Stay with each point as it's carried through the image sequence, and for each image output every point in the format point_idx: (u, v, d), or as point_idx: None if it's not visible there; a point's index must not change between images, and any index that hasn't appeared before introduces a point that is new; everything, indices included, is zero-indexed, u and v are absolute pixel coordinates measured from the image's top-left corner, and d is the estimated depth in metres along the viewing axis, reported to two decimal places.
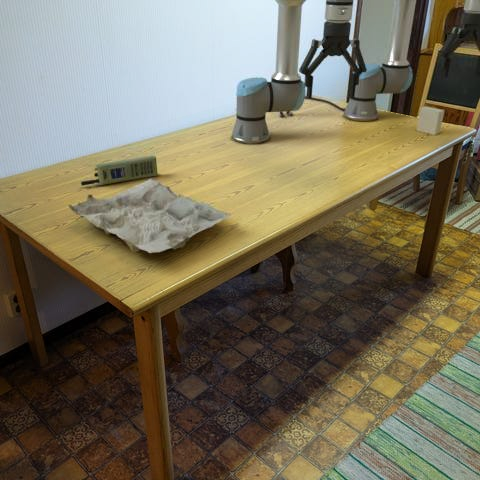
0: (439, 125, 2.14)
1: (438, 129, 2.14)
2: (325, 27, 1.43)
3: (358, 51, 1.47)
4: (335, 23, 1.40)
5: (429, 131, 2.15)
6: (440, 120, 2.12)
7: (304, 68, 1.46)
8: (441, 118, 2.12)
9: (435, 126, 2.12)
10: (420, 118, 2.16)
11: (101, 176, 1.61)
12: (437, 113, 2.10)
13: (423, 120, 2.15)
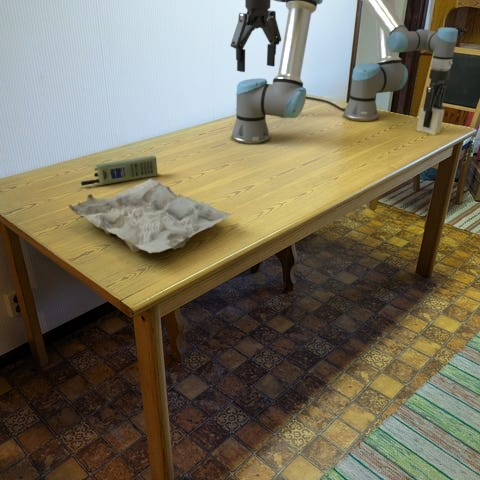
0: (439, 125, 2.14)
1: (438, 129, 2.14)
2: (250, 0, 1.48)
3: (275, 22, 1.58)
4: None
5: (429, 131, 2.15)
6: (440, 120, 2.12)
7: (238, 42, 1.50)
8: (441, 118, 2.12)
9: (435, 126, 2.12)
10: (420, 118, 2.16)
11: (101, 176, 1.61)
12: (437, 113, 2.10)
13: (423, 120, 2.15)
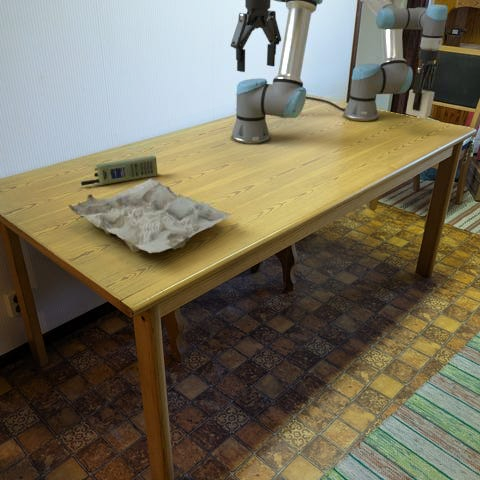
0: (429, 108, 2.05)
1: (428, 112, 2.06)
2: (250, 0, 1.48)
3: (275, 22, 1.58)
4: None
5: (419, 114, 2.06)
6: (430, 102, 2.04)
7: (238, 42, 1.50)
8: (431, 100, 2.04)
9: (425, 109, 2.04)
10: (409, 101, 2.07)
11: (101, 176, 1.61)
12: (427, 95, 2.01)
13: (412, 102, 2.06)
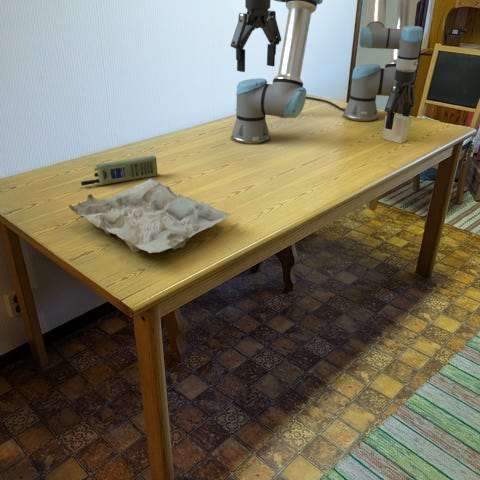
0: (405, 133, 2.03)
1: (404, 137, 2.04)
2: (250, 0, 1.48)
3: (275, 22, 1.58)
4: None
5: (395, 139, 2.04)
6: (406, 128, 2.02)
7: (238, 42, 1.50)
8: (407, 126, 2.02)
9: (401, 134, 2.02)
10: None
11: (101, 176, 1.61)
12: (402, 121, 1.99)
13: None
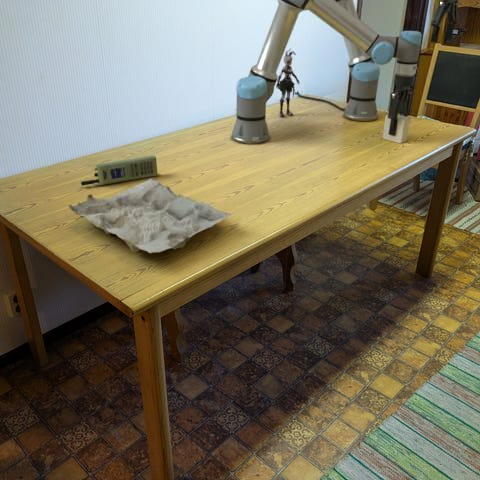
0: (405, 133, 2.03)
1: (404, 137, 2.04)
2: (400, 80, 1.93)
3: (410, 97, 2.02)
4: (409, 77, 1.92)
5: (395, 139, 2.04)
6: (406, 128, 2.02)
7: (394, 115, 1.98)
8: (407, 126, 2.02)
9: (401, 134, 2.02)
10: (385, 126, 2.05)
11: (101, 176, 1.61)
12: (402, 121, 1.99)
13: (388, 127, 2.05)
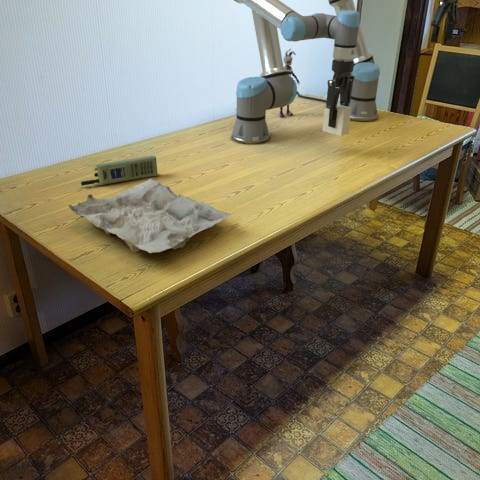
0: (346, 125, 1.84)
1: (345, 129, 1.85)
2: (338, 65, 1.73)
3: (351, 85, 1.83)
4: (347, 62, 1.73)
5: (335, 132, 1.85)
6: (347, 119, 1.83)
7: (332, 104, 1.78)
8: (348, 117, 1.83)
9: (341, 126, 1.83)
10: (325, 117, 1.86)
11: (101, 176, 1.61)
12: (342, 111, 1.80)
13: (328, 119, 1.85)
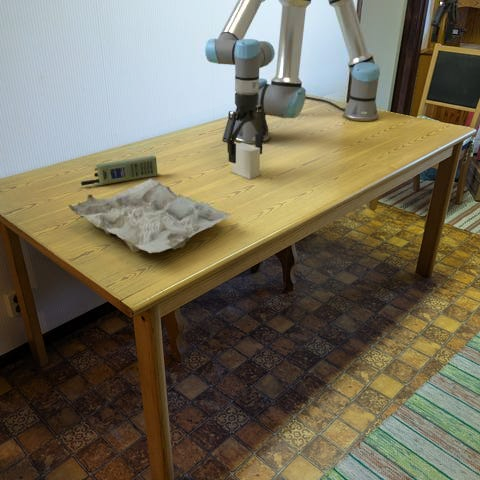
0: (255, 167, 1.69)
1: (254, 171, 1.70)
2: (239, 99, 1.58)
3: (263, 115, 1.67)
4: (249, 95, 1.57)
5: (244, 174, 1.70)
6: (255, 161, 1.68)
7: (229, 138, 1.60)
8: (257, 158, 1.68)
9: (249, 168, 1.68)
10: None
11: (101, 176, 1.61)
12: (248, 153, 1.65)
13: (236, 160, 1.70)
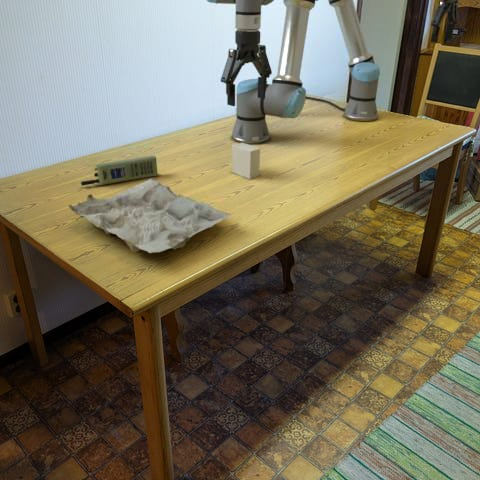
0: (255, 167, 1.69)
1: (254, 171, 1.70)
2: (240, 36, 1.49)
3: (265, 56, 1.58)
4: (250, 32, 1.48)
5: (244, 174, 1.70)
6: (255, 161, 1.68)
7: (228, 77, 1.50)
8: (257, 158, 1.68)
9: (249, 168, 1.68)
10: (233, 158, 1.71)
11: (101, 176, 1.61)
12: (248, 153, 1.65)
13: (236, 160, 1.70)
